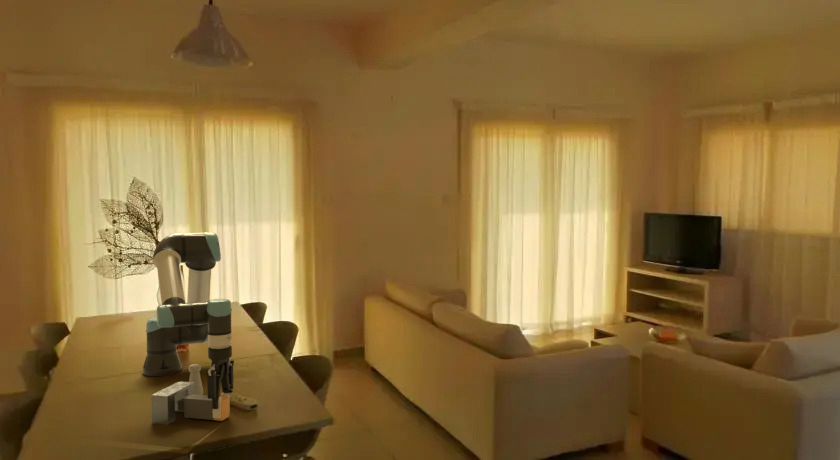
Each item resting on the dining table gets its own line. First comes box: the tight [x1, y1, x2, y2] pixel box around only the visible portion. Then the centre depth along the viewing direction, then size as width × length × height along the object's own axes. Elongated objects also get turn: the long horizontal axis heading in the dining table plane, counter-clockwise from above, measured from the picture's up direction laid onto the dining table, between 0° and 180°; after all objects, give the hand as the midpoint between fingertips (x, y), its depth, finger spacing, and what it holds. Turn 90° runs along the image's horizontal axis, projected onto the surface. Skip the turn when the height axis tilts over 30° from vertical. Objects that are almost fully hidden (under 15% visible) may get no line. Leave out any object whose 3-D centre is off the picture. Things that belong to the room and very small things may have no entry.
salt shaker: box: [188, 363, 204, 395], centre depth 222 cm, size 6×6×13 cm
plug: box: [178, 394, 230, 422], centre depth 202 cm, size 17×4×6 cm, turn 77°
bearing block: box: [150, 381, 195, 426], centre depth 205 cm, size 6×15×10 cm, turn 167°
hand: (221, 414), depth 201 cm, fingers closed on plug, 4 cm apart
